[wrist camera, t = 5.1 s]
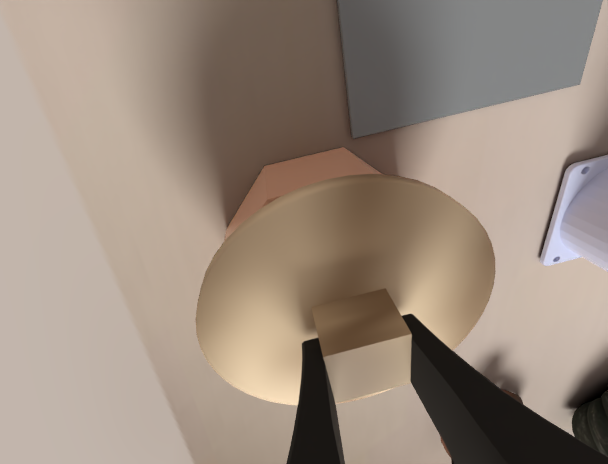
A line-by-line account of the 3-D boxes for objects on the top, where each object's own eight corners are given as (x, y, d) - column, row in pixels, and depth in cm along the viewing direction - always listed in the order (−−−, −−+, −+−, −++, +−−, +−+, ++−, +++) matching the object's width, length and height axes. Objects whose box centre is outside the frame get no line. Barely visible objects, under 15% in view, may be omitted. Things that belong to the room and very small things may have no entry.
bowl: (398, 133, 16) (446, 155, 12) (402, 280, 21) (435, 328, 17) (207, 179, 15) (191, 217, 12) (260, 316, 21) (262, 373, 17)
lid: (507, 135, 10) (598, 164, 7) (464, 355, 16) (504, 411, 14) (138, 225, 9) (96, 289, 7) (250, 412, 16) (250, 480, 13)
